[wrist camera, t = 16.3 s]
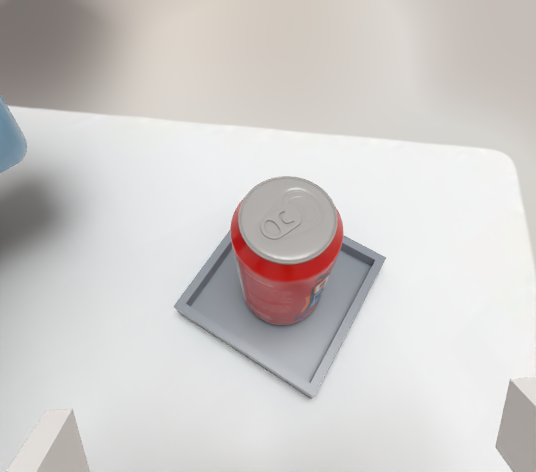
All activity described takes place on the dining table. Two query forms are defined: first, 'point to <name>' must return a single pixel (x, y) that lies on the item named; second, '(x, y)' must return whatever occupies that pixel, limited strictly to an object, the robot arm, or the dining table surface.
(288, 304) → the soda can
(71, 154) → the dining table surface
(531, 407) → the robot arm
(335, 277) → the tray
